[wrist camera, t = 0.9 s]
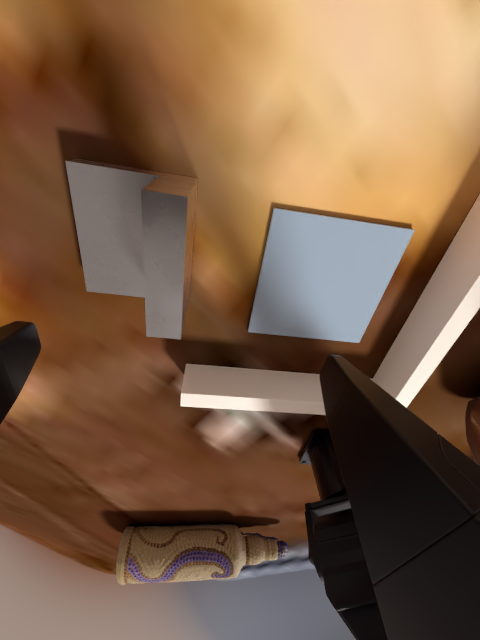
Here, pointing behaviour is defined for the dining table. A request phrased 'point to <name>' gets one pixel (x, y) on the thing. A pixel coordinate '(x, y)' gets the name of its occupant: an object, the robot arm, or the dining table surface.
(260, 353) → the dining table surface
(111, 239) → the bracket
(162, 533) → the decorative bottle
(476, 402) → the butternut squash
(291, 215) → the mat
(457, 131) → the dining table surface
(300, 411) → the l-shaped block
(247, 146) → the dining table surface
